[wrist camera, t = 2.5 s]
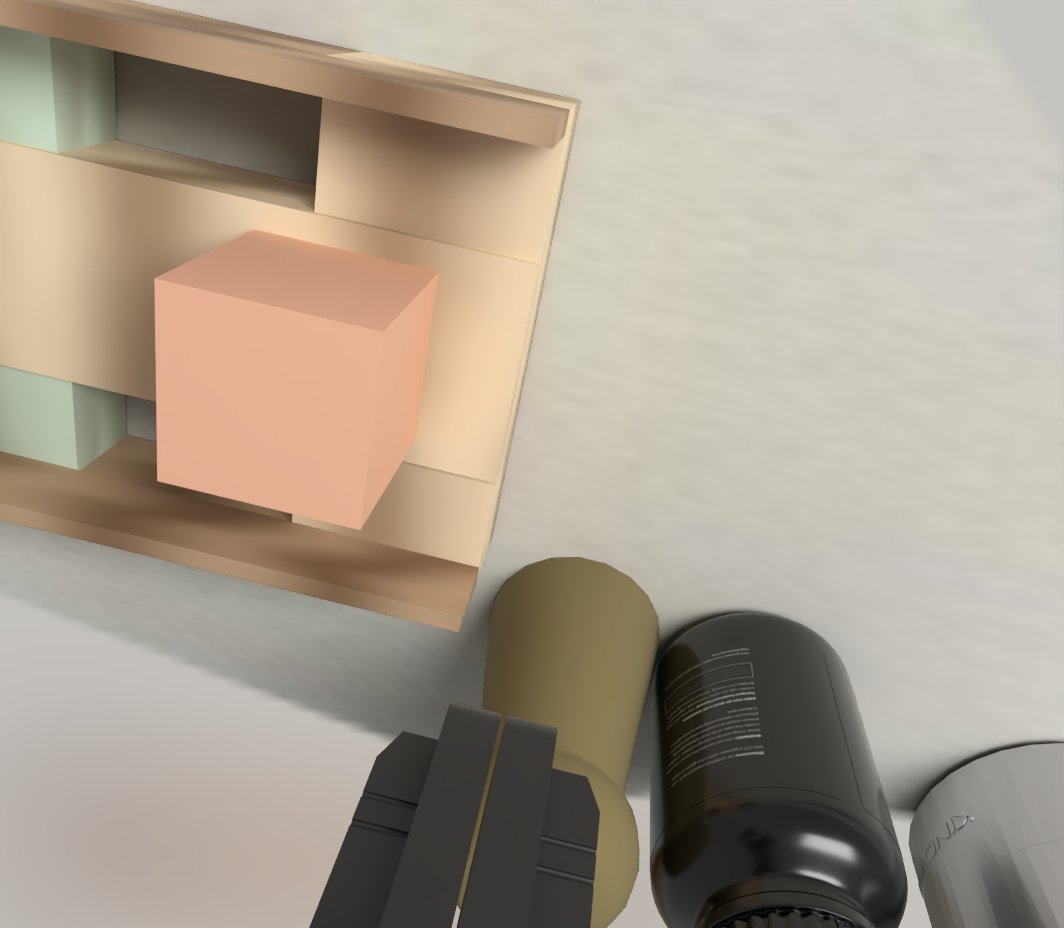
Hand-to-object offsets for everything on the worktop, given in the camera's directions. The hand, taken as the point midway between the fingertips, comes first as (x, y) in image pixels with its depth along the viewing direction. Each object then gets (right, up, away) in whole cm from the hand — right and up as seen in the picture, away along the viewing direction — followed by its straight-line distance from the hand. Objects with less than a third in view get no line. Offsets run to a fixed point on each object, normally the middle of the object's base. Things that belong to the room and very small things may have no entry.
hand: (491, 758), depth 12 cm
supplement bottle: (+8, -4, +19) cm, 21 cm away
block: (-5, +7, +12) cm, 15 cm away
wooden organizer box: (-9, +10, +15) cm, 20 cm away
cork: (+2, -2, +19) cm, 19 cm away
